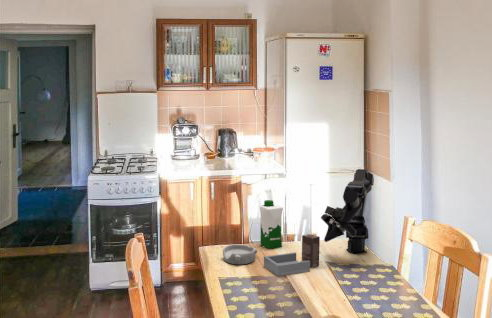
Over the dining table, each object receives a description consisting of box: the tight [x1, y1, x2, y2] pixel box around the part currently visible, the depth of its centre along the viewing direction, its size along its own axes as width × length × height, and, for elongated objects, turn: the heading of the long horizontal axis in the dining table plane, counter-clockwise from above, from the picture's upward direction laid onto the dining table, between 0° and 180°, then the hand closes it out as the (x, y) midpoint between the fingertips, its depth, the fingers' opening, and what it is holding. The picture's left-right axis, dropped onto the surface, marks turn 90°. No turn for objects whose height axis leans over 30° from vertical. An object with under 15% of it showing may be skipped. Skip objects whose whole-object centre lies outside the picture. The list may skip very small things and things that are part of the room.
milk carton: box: [259, 199, 284, 250], centre depth 249 cm, size 9×9×20 cm
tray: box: [263, 252, 311, 277], centre depth 220 cm, size 14×12×4 cm
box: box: [301, 233, 321, 269], centre depth 224 cm, size 6×4×12 cm
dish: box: [222, 243, 258, 266], centre depth 232 cm, size 14×14×5 cm
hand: (325, 241), depth 226 cm, fingers closed
